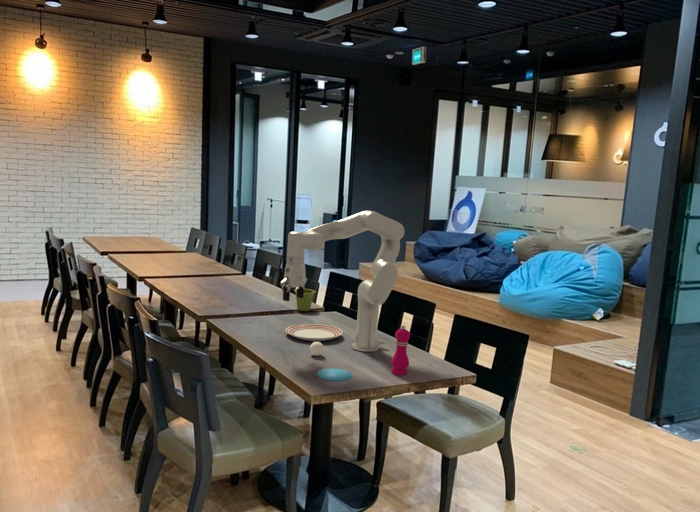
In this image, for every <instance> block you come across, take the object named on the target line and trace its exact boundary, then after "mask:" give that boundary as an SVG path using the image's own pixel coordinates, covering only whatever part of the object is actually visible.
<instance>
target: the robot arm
mask: <svg viewBox="0 0 700 512" xmlns="http://www.w3.org/2000/svg"><path fill="white" fill-rule="evenodd" d="M366 231H370V232H372V233H374V234H377V235H378V236H380V238H381V245H380V248H379V250H378V253H377V255H376V257H375V259H374V260H373V262H372V264H371V267H370V275H371V276H372V277H373V279H374V280H373V279H365V280H363V281H362V282H361V283H359V285H358V288H357V315H356V318H357V319H356V329H355V341H354V342H353V343H351V348H352V349H354V350H355V351H358V352H365V353H366V352H368V353H371V352H377V351H379V349H380V345H386V344H387V341H386V339H384V340H383V339H381V338H380V339H378V336H377V334H378V323H379V321H378V320H379V309H380V308H379V306H381V305H383V304H384V303H386V300H387V299H388V297H389V296H390V293H391V292H392V290H393V288H394V286H395V284H396V281H397V280H398V277H399V270H398V267H397V266H396V264H395V262H396V260H397V258H398V256H399V253H400V249H401V243H400V242H401V241H400V240H401V239H402V238H403V237H404V236H405V228H404V225H402V223H400V222H398V221H396V220H394V219H392V218H390V217H387V216H385V215H383V214H382V213H381V214H380V213H379V212H377V211H373V210H370V209H369V210H364V211H363V210H362V211H360V212H357V213H355V214H352V215H350V216H347V217H345V218H342V219H341V218H340V219H339V220H335V221H331V222H329V223H324V224H321V225H318V226H316V227H313V228H310V229H308V230H307V231H305V232H303V231H290V232H289V233H287V234H288V235H287V249H286V250H287V251H286V264H285V267H284V275H283V279H282V280H281V281H280V286H281V290H282V300H283V301H285V302H289V301H290V296H291V295H290V294H291V292H290V290H291V288H296V289H297V297H299V298H303V295H304V289H306V288H305V287H306V285H307V281H308V277H306V274H307V273H306V263H305V254H306V253H305V252H306V251H305V250H306V249H307V250H311V251H318V250H321V249H322V248H323V247H324V245H325V242H326V241H331V240H344V239H348V238H351V237H353V236H355V235H358V234H361V233H363V232H366Z"/></svg>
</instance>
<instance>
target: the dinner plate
mask: <svg viewBox="0 0 700 512" xmlns="http://www.w3.org/2000/svg"><path fill="white" fill-rule="evenodd" d="M285 332H286V333H287V334H288V335H290V336H292V337H294V338H296V339H300V340H303V341H307V340H308V341H307V342H326V340H327V341H330V340H333V339H336V338H338V337H340V336H341V335H343V330H342V329H341V328H339V327H336V326H331V325H328V324H327V325H326V324H321V323H320V324H319V323H317V324H316V323H303V324H302V323H300V324H296V325H291V326H288V327H287V328H285Z"/></svg>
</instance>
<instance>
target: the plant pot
mask: <svg viewBox="0 0 700 512" xmlns="http://www.w3.org/2000/svg"><path fill="white" fill-rule="evenodd" d="M294 293H295V299H296V308H297V311H300V312H310V310H311V309H312V308H311V307H312V302H313V300H314V299H313V298H314V296H315V294H316V291H315V290H314V289H310V288H305V289H304V295H303V298H299V297H297V288H296V289H294Z"/></svg>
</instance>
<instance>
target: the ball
mask: <svg viewBox="0 0 700 512" xmlns="http://www.w3.org/2000/svg"><path fill="white" fill-rule="evenodd" d="M324 350H325V347H324V345H323V344H322V343H321V341H313V342H312V343H311V345H310V346H309V351H310V354H311V355H313V356H316V357H317V356H321V355H322V354H323V352H324Z"/></svg>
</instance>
